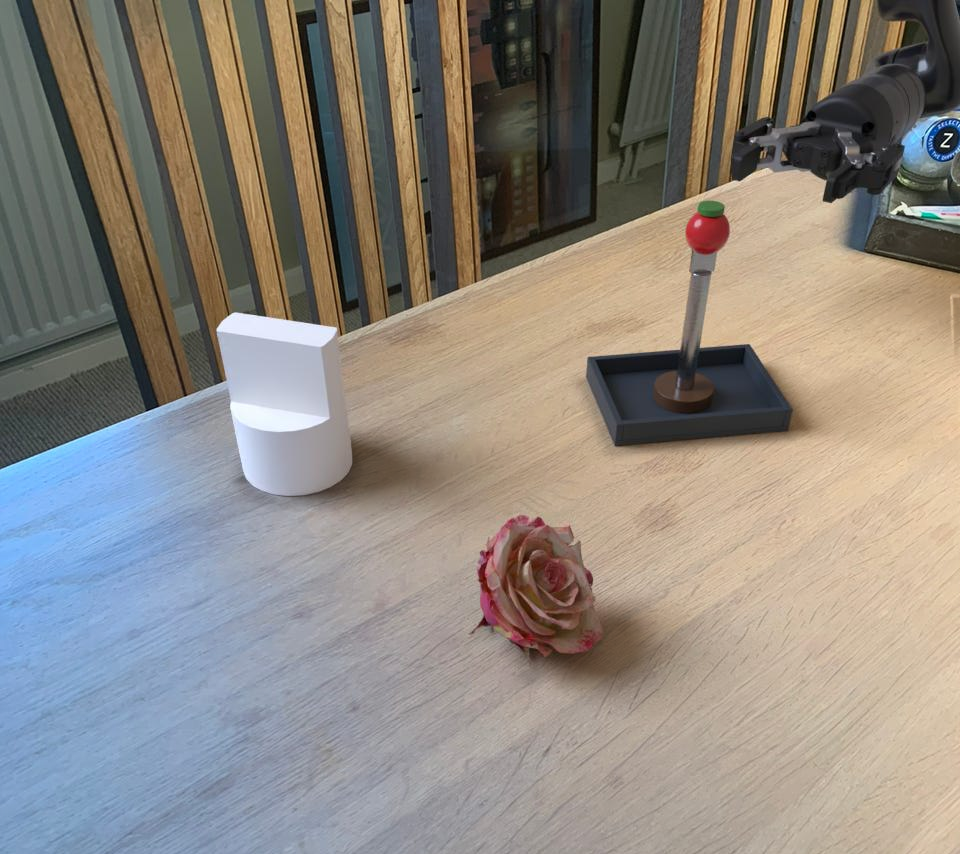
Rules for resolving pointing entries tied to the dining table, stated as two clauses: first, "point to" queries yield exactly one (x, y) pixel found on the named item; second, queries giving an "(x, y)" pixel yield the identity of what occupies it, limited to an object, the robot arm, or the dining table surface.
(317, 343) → the base with upright slab
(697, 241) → the red ball topped stand
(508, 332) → the dining table surface
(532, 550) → the flower
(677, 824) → the dining table surface
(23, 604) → the dining table surface
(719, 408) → the tray
